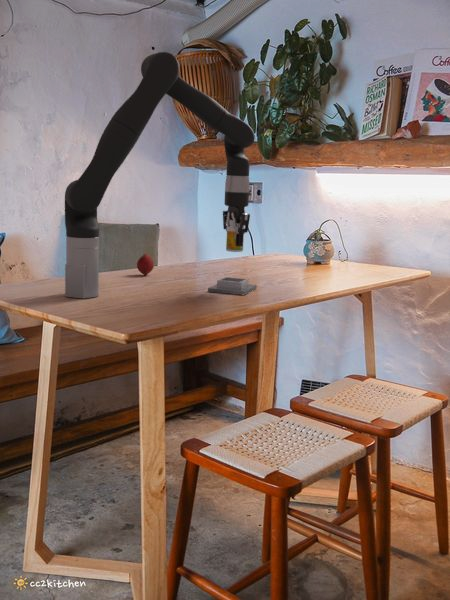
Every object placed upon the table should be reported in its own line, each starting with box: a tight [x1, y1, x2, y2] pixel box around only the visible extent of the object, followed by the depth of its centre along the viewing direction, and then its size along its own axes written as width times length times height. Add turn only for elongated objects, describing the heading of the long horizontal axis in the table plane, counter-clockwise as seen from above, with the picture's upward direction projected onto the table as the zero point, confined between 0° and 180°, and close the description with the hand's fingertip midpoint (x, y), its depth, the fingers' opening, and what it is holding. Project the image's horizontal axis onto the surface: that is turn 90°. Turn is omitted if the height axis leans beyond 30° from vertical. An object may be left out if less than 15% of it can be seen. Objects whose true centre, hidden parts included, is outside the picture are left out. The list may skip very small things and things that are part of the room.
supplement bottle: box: [225, 220, 245, 253], centre depth 215 cm, size 5×5×10 cm
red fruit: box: [136, 252, 155, 276], centre depth 240 cm, size 6×6×8 cm
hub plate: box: [207, 276, 258, 296], centre depth 218 cm, size 14×12×3 cm
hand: (234, 244), depth 216 cm, fingers closed on supplement bottle, 5 cm apart
